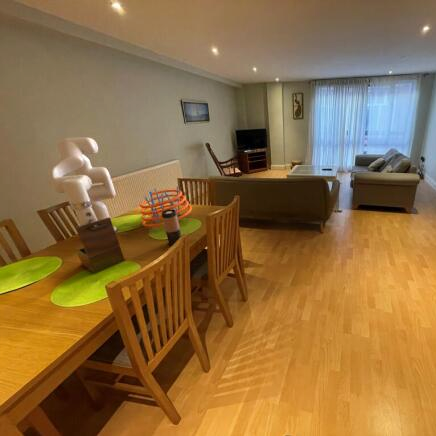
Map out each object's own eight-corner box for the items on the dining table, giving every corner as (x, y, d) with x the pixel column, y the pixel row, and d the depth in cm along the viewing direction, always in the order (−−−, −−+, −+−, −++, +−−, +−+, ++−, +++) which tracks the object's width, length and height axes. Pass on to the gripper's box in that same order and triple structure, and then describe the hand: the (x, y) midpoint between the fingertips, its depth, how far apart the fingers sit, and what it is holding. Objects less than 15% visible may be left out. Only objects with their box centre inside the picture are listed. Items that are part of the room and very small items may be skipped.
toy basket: (161, 235, 156) (147, 201, 146) (134, 227, 175) (120, 197, 165) (203, 214, 182) (194, 184, 172) (176, 209, 200) (166, 181, 190)
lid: (75, 227, 108) (80, 229, 105) (109, 217, 118) (114, 218, 115) (87, 257, 113) (92, 259, 110) (119, 244, 124) (124, 247, 121)
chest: (82, 264, 124) (76, 250, 120) (111, 253, 134) (106, 239, 131) (94, 273, 117) (88, 258, 113) (124, 260, 127) (119, 245, 124)
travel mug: (185, 240, 147) (178, 210, 139) (176, 246, 140) (168, 214, 132) (175, 238, 149) (168, 208, 141) (165, 244, 143) (158, 213, 135)
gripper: (98, 205, 112) (110, 237, 119) (82, 199, 121) (94, 229, 128) (79, 211, 107) (92, 244, 114) (64, 203, 115) (77, 235, 122)
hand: (93, 236), depth 121 cm, fingers open, 9 cm apart
